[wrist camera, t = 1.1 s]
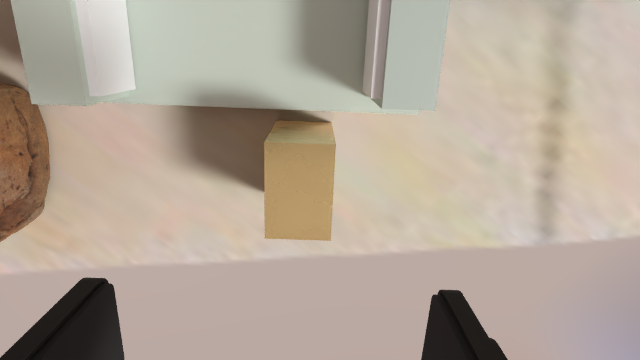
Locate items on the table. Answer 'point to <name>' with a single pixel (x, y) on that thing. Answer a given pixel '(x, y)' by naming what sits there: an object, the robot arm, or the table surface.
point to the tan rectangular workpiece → (299, 180)
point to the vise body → (197, 53)
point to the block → (21, 160)
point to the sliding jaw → (404, 52)
